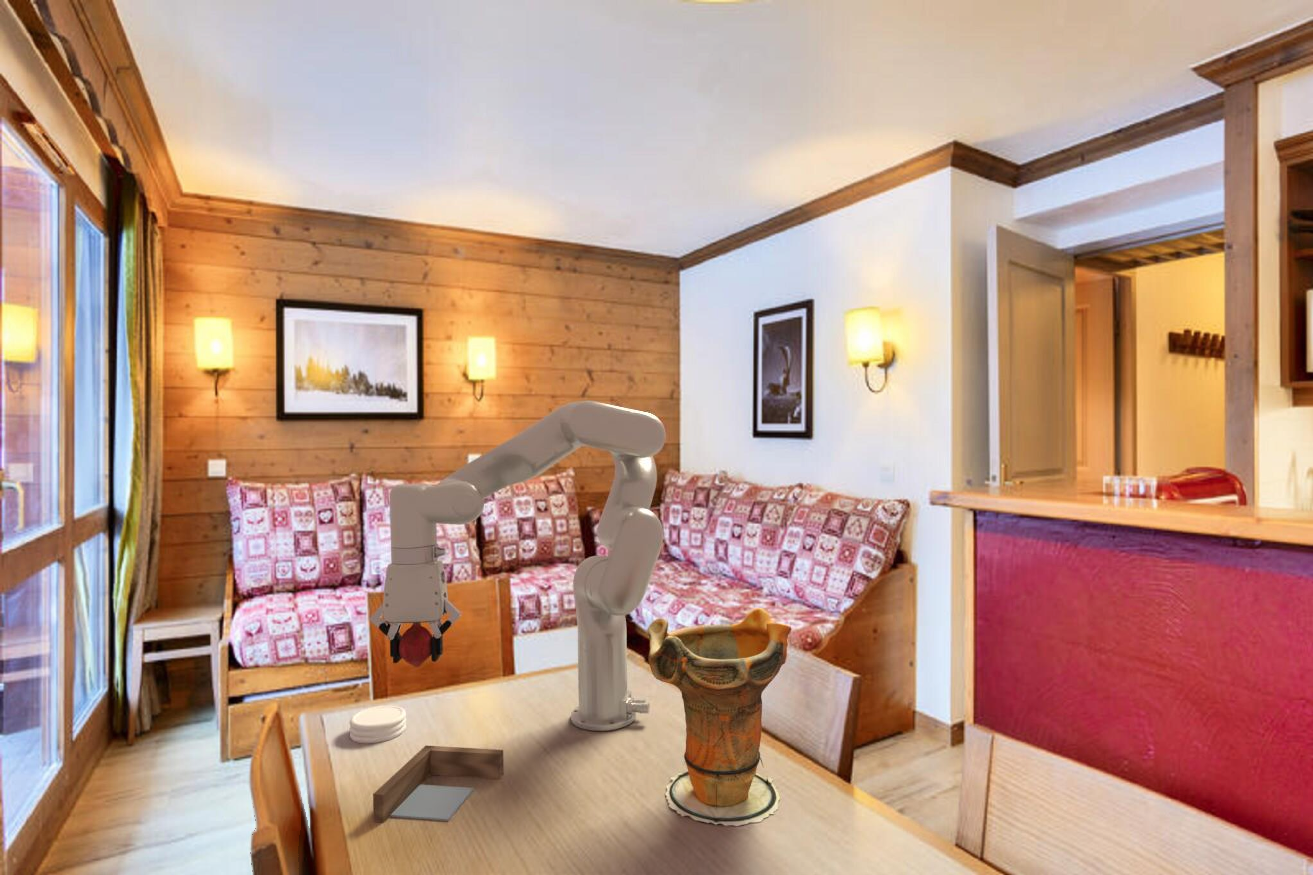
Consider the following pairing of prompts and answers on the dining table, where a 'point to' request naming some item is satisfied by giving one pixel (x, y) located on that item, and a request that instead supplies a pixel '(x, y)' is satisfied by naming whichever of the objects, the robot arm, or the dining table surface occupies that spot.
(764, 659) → the decorative vase
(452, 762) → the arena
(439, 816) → the pad
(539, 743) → the dining table surface
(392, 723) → the coaster
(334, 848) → the dining table surface
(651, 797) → the dining table surface
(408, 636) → the onion
